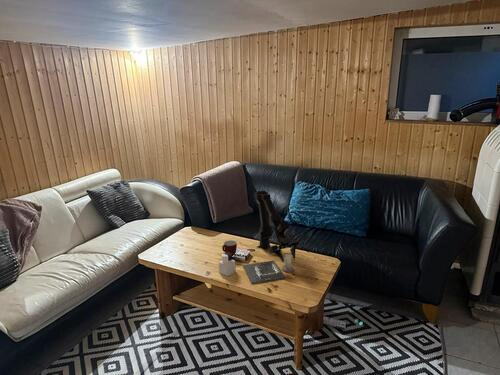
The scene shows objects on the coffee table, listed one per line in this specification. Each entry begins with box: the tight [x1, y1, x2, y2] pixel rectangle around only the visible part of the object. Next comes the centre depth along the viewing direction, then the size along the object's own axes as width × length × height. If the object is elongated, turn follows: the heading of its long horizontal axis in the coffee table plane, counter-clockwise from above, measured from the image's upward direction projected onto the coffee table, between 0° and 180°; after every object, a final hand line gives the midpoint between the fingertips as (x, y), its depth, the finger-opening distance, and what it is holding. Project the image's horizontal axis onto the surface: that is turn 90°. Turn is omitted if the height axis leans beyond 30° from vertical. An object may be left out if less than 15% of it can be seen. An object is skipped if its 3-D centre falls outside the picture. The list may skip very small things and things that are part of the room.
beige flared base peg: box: [281, 252, 295, 274], centre depth 193 cm, size 7×7×10 cm
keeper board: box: [242, 260, 287, 285], centre depth 191 cm, size 20×20×2 cm
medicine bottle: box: [218, 252, 237, 277], centre depth 191 cm, size 7×7×12 cm
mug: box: [221, 239, 238, 256], centre depth 209 cm, size 10×8×10 cm
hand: (289, 260), depth 191 cm, fingers open, 7 cm apart
